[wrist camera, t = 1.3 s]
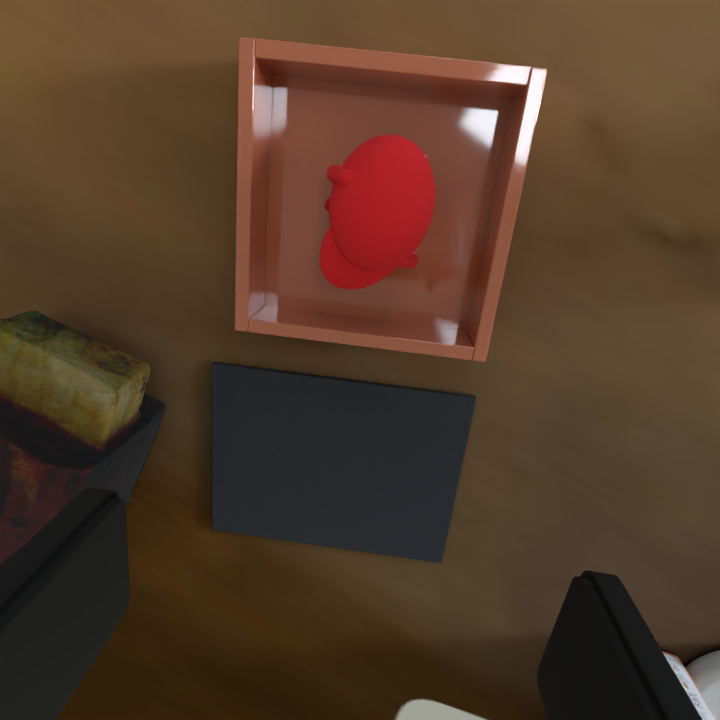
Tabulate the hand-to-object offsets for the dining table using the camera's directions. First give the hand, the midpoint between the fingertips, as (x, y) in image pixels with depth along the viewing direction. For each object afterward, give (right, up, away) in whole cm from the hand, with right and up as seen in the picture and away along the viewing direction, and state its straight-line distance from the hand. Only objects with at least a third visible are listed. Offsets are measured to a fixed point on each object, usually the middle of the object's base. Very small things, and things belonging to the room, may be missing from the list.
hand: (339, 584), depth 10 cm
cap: (+1, +14, +18) cm, 23 cm away
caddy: (+1, +14, +18) cm, 23 cm away
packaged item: (-24, -9, +29) cm, 38 cm away
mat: (-2, -3, +24) cm, 25 cm away
